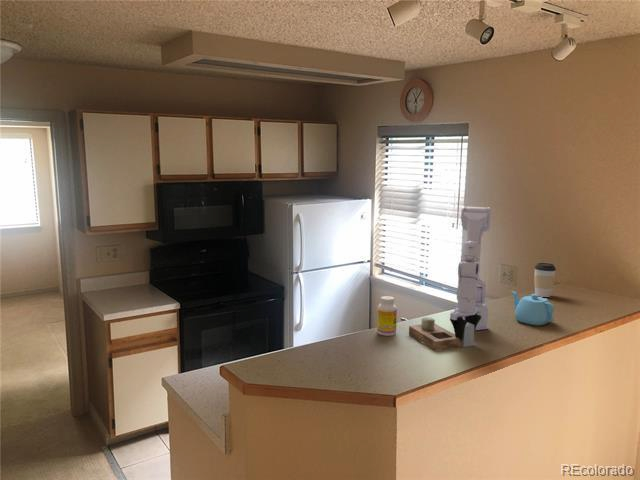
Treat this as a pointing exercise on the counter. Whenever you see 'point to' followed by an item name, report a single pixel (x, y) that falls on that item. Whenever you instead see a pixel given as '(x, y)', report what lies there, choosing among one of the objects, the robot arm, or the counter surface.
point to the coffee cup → (544, 279)
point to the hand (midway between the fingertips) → (464, 337)
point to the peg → (468, 335)
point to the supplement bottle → (387, 316)
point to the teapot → (533, 309)
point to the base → (434, 335)
